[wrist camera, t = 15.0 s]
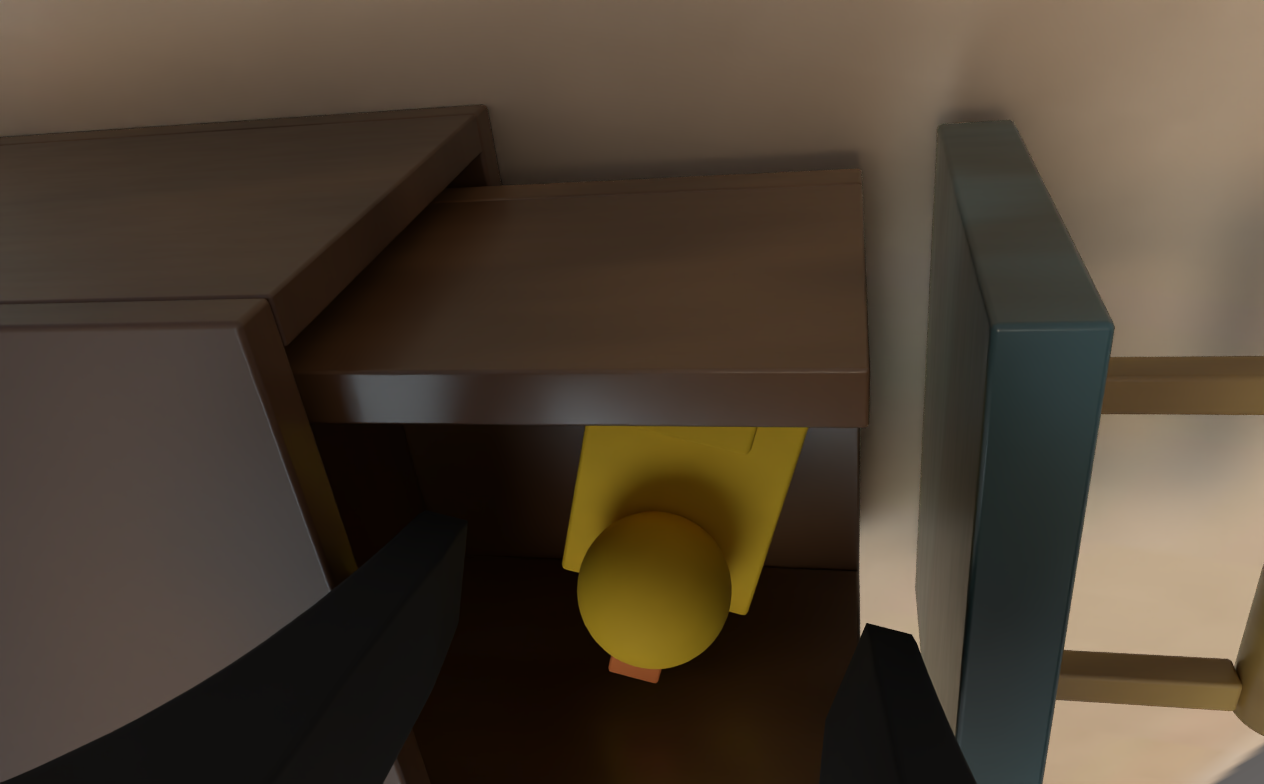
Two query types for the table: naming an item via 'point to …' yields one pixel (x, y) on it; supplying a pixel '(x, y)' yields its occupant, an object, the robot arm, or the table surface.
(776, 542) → the drawer
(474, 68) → the table surface
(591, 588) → the duck
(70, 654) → the cabinet
